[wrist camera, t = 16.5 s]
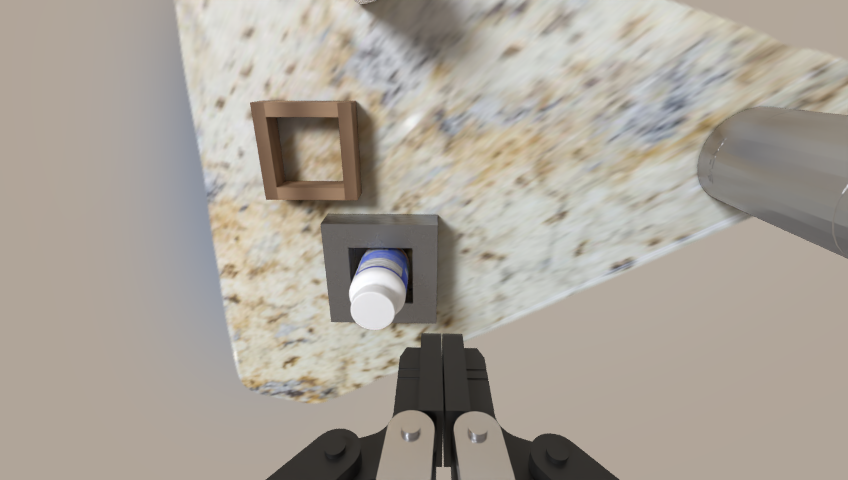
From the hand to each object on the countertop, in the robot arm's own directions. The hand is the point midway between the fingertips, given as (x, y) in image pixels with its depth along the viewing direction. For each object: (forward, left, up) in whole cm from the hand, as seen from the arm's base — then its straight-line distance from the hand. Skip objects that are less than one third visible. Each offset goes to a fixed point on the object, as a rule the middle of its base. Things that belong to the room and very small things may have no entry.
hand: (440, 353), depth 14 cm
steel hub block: (+6, +10, -27) cm, 29 cm away
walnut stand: (+12, -2, -27) cm, 30 cm away
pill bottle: (+5, +10, -27) cm, 29 cm away
